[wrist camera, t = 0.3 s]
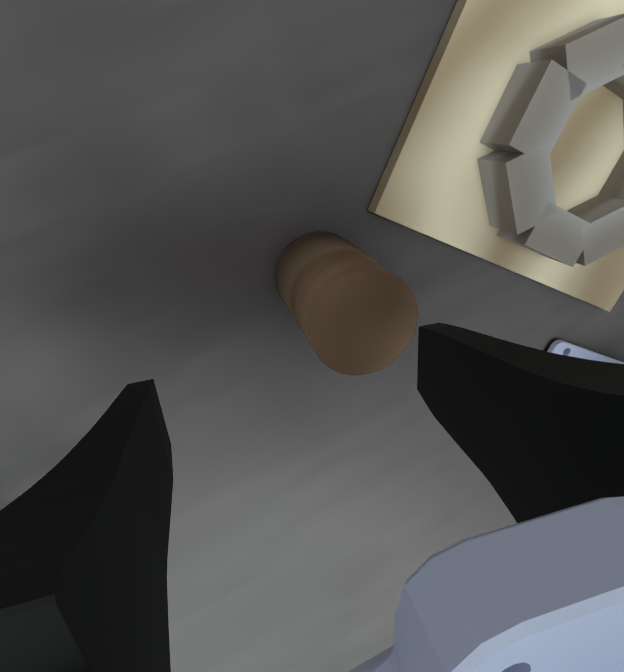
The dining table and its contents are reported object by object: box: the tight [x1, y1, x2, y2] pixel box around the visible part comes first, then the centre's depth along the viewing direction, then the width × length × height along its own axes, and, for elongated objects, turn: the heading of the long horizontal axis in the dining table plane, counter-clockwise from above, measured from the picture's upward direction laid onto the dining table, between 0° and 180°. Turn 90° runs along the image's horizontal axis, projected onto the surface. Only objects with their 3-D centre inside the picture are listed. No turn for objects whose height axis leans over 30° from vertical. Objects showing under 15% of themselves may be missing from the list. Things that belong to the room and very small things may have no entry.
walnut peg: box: [276, 231, 418, 375], centre depth 19 cm, size 4×4×6 cm
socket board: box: [368, 0, 624, 312], centre depth 21 cm, size 16×12×3 cm
